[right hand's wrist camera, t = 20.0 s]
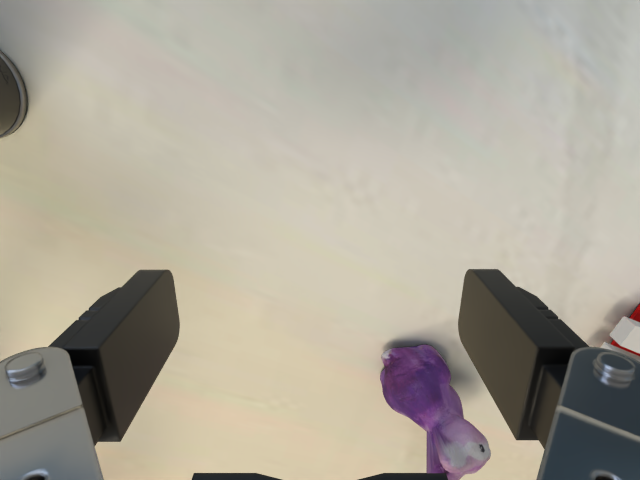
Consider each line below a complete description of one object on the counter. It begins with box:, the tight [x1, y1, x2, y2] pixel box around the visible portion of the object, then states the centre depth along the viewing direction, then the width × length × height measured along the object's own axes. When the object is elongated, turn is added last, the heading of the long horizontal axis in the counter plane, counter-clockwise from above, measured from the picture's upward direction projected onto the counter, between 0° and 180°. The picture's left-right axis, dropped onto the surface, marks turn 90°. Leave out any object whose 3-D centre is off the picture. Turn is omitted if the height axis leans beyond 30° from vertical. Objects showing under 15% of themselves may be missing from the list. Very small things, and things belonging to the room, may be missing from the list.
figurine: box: [380, 344, 491, 480], centre depth 43 cm, size 9×10×15 cm
